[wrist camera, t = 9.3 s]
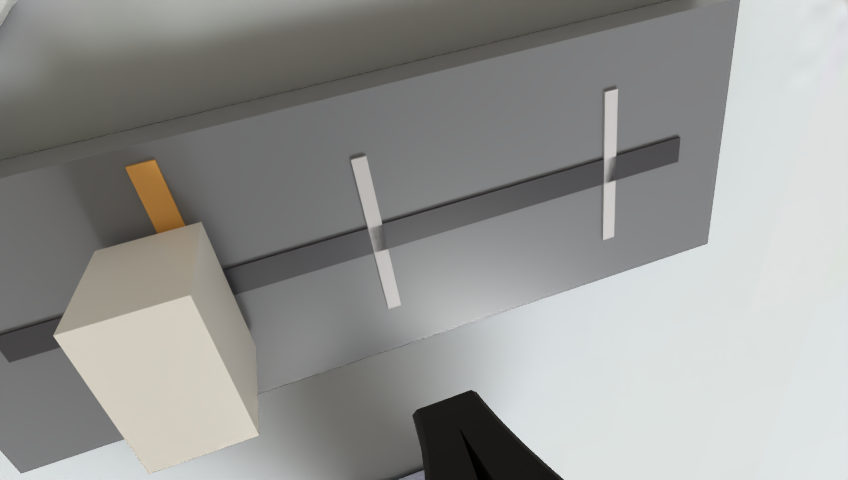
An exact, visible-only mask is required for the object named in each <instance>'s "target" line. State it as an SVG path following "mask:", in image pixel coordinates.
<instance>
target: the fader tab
mask: <svg viewBox="0 0 848 480" xmlns="http://www.w3.org/2000/svg"><path fill="white" fill-rule="evenodd" d="M53 336H54V338H55V339H56V341H57V342H58V343H59V345H60V346H61V348H62V349H63V351H64V352H65V354H66V355H67V356H68V358H69V359H70V361H71V362H72V364H73V365H74V367H75V368H76V370H77V371H78V372H79V374H80V375H81V377H82V378H83V380H84V381H85V383H86V384H87V385H88V387H89V388H90V390H91V391H92V393H93V394H94V396H95V397H96V398H97V400H98V401H99V403H100V404H101V406H102V407H103V409H104V410H105V411H106V413H107V414H108V416H109V417H110V419H111V420H112V422H113V423H114V424H115V426H116V427H117V429H118V430H119V432H120V433H121V435H122V436H123V438H124V439H125V440H126V442H127V443H128V445H129V446H130V448H131V449H132V451H133V452H134V453H135V455H136V456H137V458H138V459H139V461H140V462H141V464H142V465H143V466H144V468H145V469H146V471H147V472H148V474H151V473H154V472H157V471H160V470H163V469H166V468H168V467H171V466H174V465H177V464H180V463H183V462H186V461H189V460H191V459H194V458H197V457H200V456H203V455H206V454H209V453H211V452H214V451H217V450H220V449H223V448H226V447H229V446H232V445H234V444H237V443H240V442H243V441H246V440H249V439H252V438H254V437H257V436H259V416H258V389H257V362H256V346H255V344H254V341H253V339H252V337H251V334H250V332H249V330H248V328H247V325H246V323H245V321H244V318H243V316H242V314H241V311H240V309H239V307H238V305H237V302H236V300H235V298H234V295H233V293H232V291H231V289H230V286H229V284H228V282H227V279H226V277H225V275H224V273H223V270H222V268H221V266H220V263H219V261H218V259H217V257H216V254H215V252H214V250H213V247H212V245H211V243H210V241H209V238H208V236H207V234H206V231H205V229H204V227H203V224H202V222H199V223H195V224H191V225H188V226H184V227H180V228H177V229H173V230H169V231H166V232H162V233H159V234H155V235H151V236H148V237H144V238H140V239H137V240H133V241H129V242H126V243H122V244H118V245H115V246H111V247H107V248H104V249H100V250H96V251H95V252H94V254H93V256H92V258H91V260H90V262H89V264H88V266H87V268H86V270H85V272H84V274H83V276H82V278H81V280H80V282H79V284H78V286H77V288H76V290H75V292H74V294H73V296H72V298H71V301H70V303H69V305H68V307H67V309H66V311H65V313H64V315H63V317H62V319H61V321H60V323H59V325H58V327H57V329H56V331H55V333H54V335H53Z"/></svg>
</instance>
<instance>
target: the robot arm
mask: <svg viewBox="0 0 848 480" xmlns="http://www.w3.org/2000/svg"><path fill="white" fill-rule="evenodd" d="M413 419H414V423H415V427H416V431H417V435H418V438H419V442H420V446H421V450H422V457H423V465H424V470H422V471H420V472H417V473H414V474H412V475H409V476H406V477H404V478H401V479H398V480H564V479H562V478H561V477H560V476H559V475H558V474H557V473H555V472H554V471H553V470H552V469H551V468H550V467H549V466H548V465H547V464H545V463H544V462H543V461H542V460H541V459H540V458H539V457H538V456H537V455H536V454H535V453H533V452H532V451H531V450H530V449H529V448H528V447H527V446H526V445H525V444H524V443H523V442H522V441H521V440H520V439H519V438H518V437H517V436H516V435H515V434H514V433H513V432H512V431H511V430H510V429H509V428H508V427H507V426H506V425H505V424H504V423H503V422H502V421H501V420H500V419H499V418H498V417H497V416H496V415H495V414H494V412H493V411H492V410H491V409H490V408H489V407H488V406H487V404H486V403H485V402H484V401H483V400H482V399H481V397H480V396H479V395H478V394H477V392H474V391H472V390H470V391H467V392H465V393H462V394H459V395H456V396H453V397H451V398H448V399H445V400H442V401H440V402H437V403H434V404H431V405H429V406H426V407H423V408H420V409H417V410H416V411H415V413H414V414H413Z"/></svg>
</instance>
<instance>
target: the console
mask: <svg viewBox="0 0 848 480" xmlns="http://www.w3.org/2000/svg"><path fill="white" fill-rule="evenodd" d="M739 3H740V0H670V1H666V2H661V3H657V4H653V5H649V6H645V7H640V8H636V9H632V10H628V11H624V12H620V13H615V14H611V15H607V16H603V17H599V18H594V19H590V20H586V21H582V22H578V23H574V24H569V25H565V26H561V27H557V28H553V29H548V30H544V31H540V32H536V33H532V34H528V35H523V36H519V37H515V38H511V39H507V40H502V41H498V42H494V43H490V44H486V45H482V46H477V47H473V48H469V49H465V50H461V51H456V52H452V53H448V54H444V55H440V56H436V57H431V58H427V59H423V60H419V61H415V62H410V63H406V64H402V65H398V66H394V67H390V68H385V69H381V70H377V71H373V72H369V73H364V74H360V75H356V76H352V77H348V78H344V79H339V80H335V81H331V82H327V83H323V84H318V85H314V86H310V87H306V88H302V89H298V90H293V91H289V92H285V93H281V94H277V95H272V96H268V97H264V98H260V99H256V100H252V101H247V102H243V103H239V104H235V105H231V106H226V107H222V108H218V109H214V110H210V111H206V112H201V113H197V114H193V115H189V116H185V117H180V118H176V119H172V120H168V121H164V122H160V123H155V124H151V125H147V126H143V127H139V128H134V129H130V130H126V131H122V132H118V133H114V134H109V135H105V136H101V137H97V138H93V139H89V140H84V141H80V142H76V143H72V144H68V145H63V146H59V147H55V148H51V149H47V150H43V151H38V152H34V153H30V154H26V155H22V156H17V157H13V158H9V159H5V160H1V161H0V450H1V452H2V453H3V454H4V455H5V456H6V457H7V458H8V459H9V460H10V462H11V463H12V464H13V465H14V466H15V467H16V468H17V469H18V471H19V472H20V473H24V472H27V471H30V470H33V469H36V468H39V467H42V466H45V465H48V464H51V463H54V462H57V461H60V460H63V459H66V458H69V457H72V456H75V455H78V454H81V453H84V452H87V451H90V450H93V449H96V448H99V447H102V446H105V445H108V444H111V443H114V442H117V441H120V440H123V439H124V438H123V436H122V435H121V433H120V432H119V430H118V429H117V427H116V426H115V424H114V423H113V422H112V420H111V419H110V417H109V416H108V414H107V413H106V411H105V410H104V409H103V407H102V406H101V404H100V403H99V401H98V400H97V398H96V397H95V396H94V394H93V393H92V391H91V390H90V388H89V387H88V385H87V384H86V383H85V381H84V380H83V378H82V377H81V375H80V374H79V372H78V371H77V370H76V368H75V367H74V365H73V364H72V362H71V361H70V359H69V358H68V356H67V355H66V354H65V352H64V351H63V349H62V348H61V346H60V345H59V343H58V342H57V341H56V339H55V338H54V336H53V335H54V333H55V331H56V329H57V327H58V325H59V323H60V321H61V319H62V317H63V315H64V313H65V311H66V309H67V307H68V305H69V303H70V301H71V298H72V296H73V294H74V292H75V290H76V288H77V286H78V284H79V282H80V280H81V278H82V276H83V274H84V272H85V270H86V268H87V266H88V264H89V262H90V260H91V258H92V256H93V254H94V252H95V251H96V250H100V249H104V248H107V247H111V246H115V245H118V244H122V243H126V242H129V241H133V240H137V239H140V238H144V237H148V236H151V235H155V234H159V233H162V232H166V231H169V230H173V229H177V228H180V227H184V226H188V225H191V224H195V223H199V222H202V224H203V227H204V229H205V231H206V234H207V236H208V238H209V241H210V243H211V245H212V247H213V250H214V252H215V254H216V257H217V259H218V261H219V263H220V266H221V268H222V270H223V273H224V275H225V277H226V279H227V282H228V284H229V286H230V289H231V291H232V293H233V295H234V298H235V300H236V302H237V305H238V307H239V309H240V311H241V314H242V316H243V318H244V321H245V323H246V325H247V328H248V330H249V332H250V334H251V337H252V339H253V341H254V344H255V346H256V362H257V389H258V394H260V393H263V392H266V391H269V390H272V389H275V388H278V387H281V386H284V385H287V384H290V383H293V382H296V381H299V380H302V379H305V378H308V377H311V376H314V375H317V374H320V373H323V372H326V371H329V370H332V369H335V368H338V367H341V366H343V365H346V364H349V363H352V362H355V361H358V360H361V359H364V358H367V357H370V356H373V355H376V354H379V353H382V352H385V351H388V350H391V349H394V348H397V347H400V346H403V345H406V344H409V343H412V342H415V341H418V340H421V339H424V338H427V337H430V336H433V335H436V334H439V333H442V332H445V331H448V330H451V329H454V328H457V327H460V326H463V325H466V324H469V323H472V322H475V321H478V320H481V319H484V318H487V317H490V316H493V315H496V314H499V313H502V312H505V311H508V310H511V309H514V308H517V307H520V306H523V305H526V304H529V303H532V302H535V301H537V300H540V299H543V298H546V297H549V296H552V295H555V294H558V293H561V292H564V291H567V290H570V289H573V288H576V287H579V286H582V285H585V284H588V283H591V282H594V281H597V280H600V279H603V278H606V277H609V276H612V275H615V274H618V273H621V272H624V271H627V270H630V269H633V268H636V267H639V266H642V265H645V264H648V263H651V262H654V261H657V260H660V259H663V258H666V257H669V256H672V255H675V254H678V253H681V252H684V251H687V250H690V249H693V248H696V247H699V246H702V245H705V244H707V242H708V235H709V227H710V220H711V212H712V205H713V198H714V190H715V183H716V175H717V168H718V160H719V153H720V145H721V138H722V130H723V123H724V115H725V108H726V100H727V93H728V86H729V78H730V71H731V63H732V56H733V48H734V41H735V33H736V26H737V18H738V11H739Z"/></svg>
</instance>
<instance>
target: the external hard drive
mask: <svg viewBox="0 0 848 480" xmlns="http://www.w3.org/2000/svg"><path fill="white" fill-rule="evenodd" d="M18 1H19V0H0V26H1V25H2V23H3V21H4V20H5V18H6V16H7V15H8V13H9V11H10V10H11V8H12V6H13V5H14V4H15V3H17V2H18Z"/></svg>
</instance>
